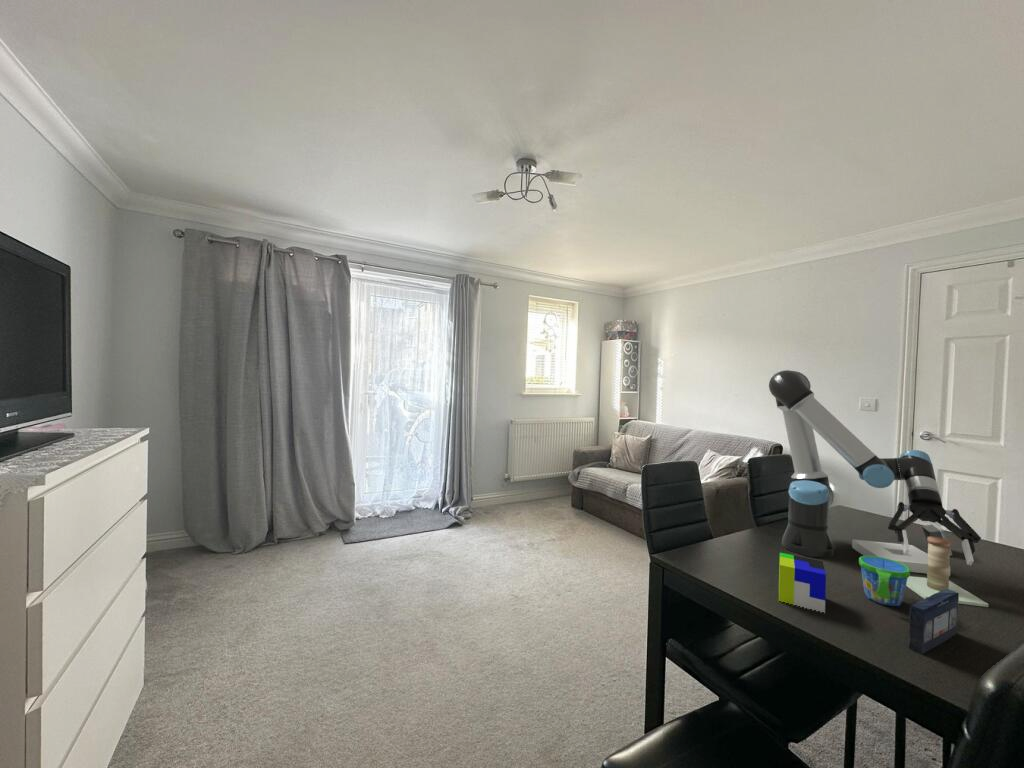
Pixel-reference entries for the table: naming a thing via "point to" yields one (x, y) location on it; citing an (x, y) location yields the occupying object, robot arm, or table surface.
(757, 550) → the table surface
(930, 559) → the plug
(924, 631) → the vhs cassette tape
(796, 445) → the robot arm
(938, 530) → the electrical switch
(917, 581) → the pad
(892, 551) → the socket block
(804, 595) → the puzzle toy
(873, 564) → the snack cup
